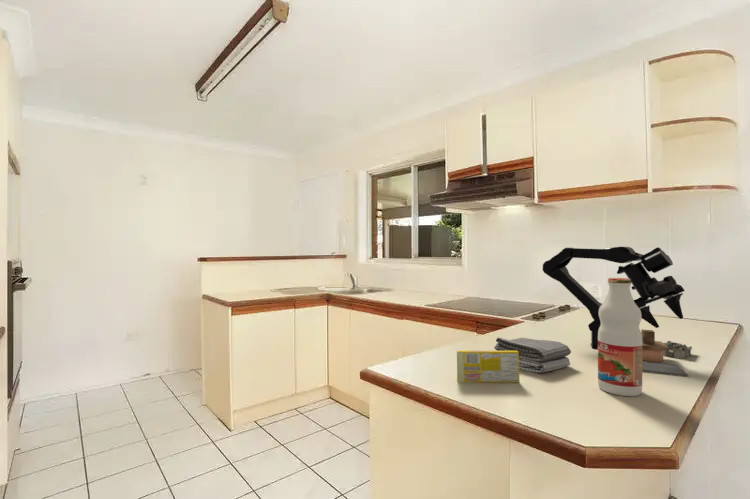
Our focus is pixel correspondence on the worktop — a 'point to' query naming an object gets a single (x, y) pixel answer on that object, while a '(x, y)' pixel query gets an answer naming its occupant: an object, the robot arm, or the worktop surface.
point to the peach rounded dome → (652, 355)
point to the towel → (536, 353)
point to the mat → (662, 368)
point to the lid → (652, 341)
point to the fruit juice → (620, 341)
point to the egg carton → (677, 350)
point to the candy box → (488, 366)
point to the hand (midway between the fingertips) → (669, 322)
